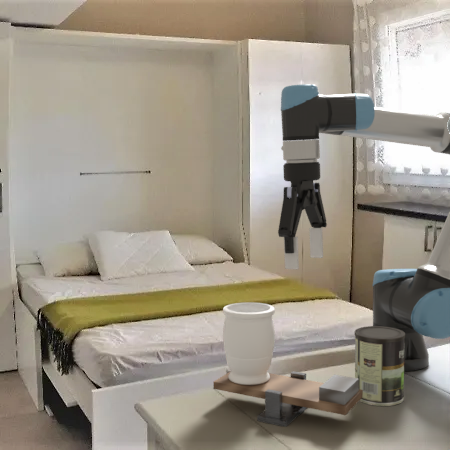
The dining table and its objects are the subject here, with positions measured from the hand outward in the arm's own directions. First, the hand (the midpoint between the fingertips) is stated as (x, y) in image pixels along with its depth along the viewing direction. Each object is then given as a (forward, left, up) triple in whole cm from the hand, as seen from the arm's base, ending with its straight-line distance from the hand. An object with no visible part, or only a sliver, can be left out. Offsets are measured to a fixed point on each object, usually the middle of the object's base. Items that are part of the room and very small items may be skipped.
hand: (304, 263), depth 136 cm
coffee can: (-6, +15, -29) cm, 33 cm away
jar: (+11, -8, -23) cm, 27 cm away
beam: (+10, +1, -24) cm, 26 cm away
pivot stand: (+10, +1, -28) cm, 30 cm away
